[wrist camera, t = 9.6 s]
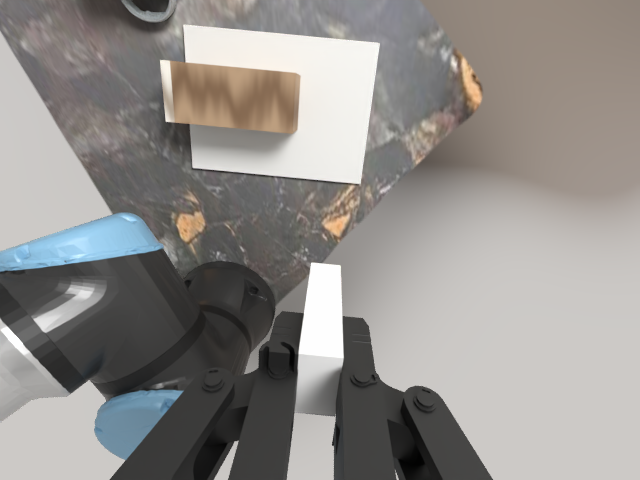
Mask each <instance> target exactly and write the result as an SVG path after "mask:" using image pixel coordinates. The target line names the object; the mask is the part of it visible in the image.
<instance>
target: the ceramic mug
mask: <svg viewBox="0 0 640 480" xmlns="http://www.w3.org/2000/svg"><path fill="white" fill-rule="evenodd" d="M121 1H122V3H123V4H124V5H125V7H126V8H127V9H128V10H129V11H130V12H131V13H132V14H133V15H135V16H136V17H138V18H140V19H141V20H143V21H147V22H154V23H155V22H162V21H165V20H166V19H168V18H169V17H170V16H171V15H172V13H173V12H174V10H175V7H176V2H177V0H169V4H168V7H167V9H166V12H150V11H145V12H143V11H142V10H140V9H139V8H138V7H137V6H136V5H135V4H134V3H133V1H132V0H121Z"/></svg>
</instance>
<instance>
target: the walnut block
mask: <svg viewBox="0 0 640 480" xmlns="http://www.w3.org/2000/svg"><path fill="white" fill-rule="evenodd" d="M160 64H161V75H162V86H163V97H164V108H165V119H166V122H175V123H185V124H196V125H206V126H216V127H227V128H237V129H248V130H258V131H269V132H279V133H289V134H293V133H294V132H295V131H297V130H298V112H299V95H300V78H301V76H300V75H299V74H297V73H292V72H282V71H271V70H261V69H250V68H240V67H229V66H219V65H208V64H198V63H187V62H177V61H166V60H160Z"/></svg>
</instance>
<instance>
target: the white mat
mask: <svg viewBox="0 0 640 480" xmlns="http://www.w3.org/2000/svg"><path fill="white" fill-rule="evenodd" d="M183 28H184V43H185V59H186V62H187V63H198V64H208V65H219V66H229V67H240V68H250V69H261V70H271V71H282V72H292V73H297V74H299V75H300V76H301V78H300V95H299V112H298V130H297V131H295V132H294V133H293V134H289V133H279V132H269V131H258V130H248V129H237V128H227V127H216V126H206V125H196V124H190V135H191V151H192V166H193V168H199V169H209V170H219V171H230V172H240V173H251V174H261V175H272V176H282V177H292V178H303V179H313V180H324V181H334V182H344V183H355V184H360V183H361V175H362V168H363V161H364V154H365V146H366V139H367V132H368V124H369V117H370V110H371V103H372V95H373V88H374V81H375V74H376V66H377V59H378V52H379V44H380V43H373V42H363V41H352V40H342V39H331V38H320V37H310V36H299V35H289V34H278V33H267V32H257V31H246V30H236V29H225V28H214V27H204V26H193V25H183Z"/></svg>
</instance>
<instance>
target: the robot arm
mask: <svg viewBox="0 0 640 480" xmlns="http://www.w3.org/2000/svg"><path fill="white" fill-rule="evenodd" d="M163 248H164V246H163V244H161V243H159V242H158V240H157V239H156V238H155V236H154V235H153V233H152V232H151V231H150V229H149V228H148V226H147V225H146V224H145V222H144V221H143V220H142V219H141V218H140V217H138V216H137V215H135V214H132V213H117V214H113V215H110V216H107V217H103V218H100V219H97V220H94V221H91V222H88V223H85V224H81V225H79V226H75V227H73V228H69V229H66V230H63V231H60V232H57V233H54V234H51V235H48V236H44V237H41V238H38V239H35V240H32V241H30V242H27V243H24V244H21V245H18V246H15V247H12V248H9V249H6V250H3V251H0V422H1V421H3V420H4V419H5V418H7V417H8V416H10V415H11V414H13V413H14V412H15V411H17V410H18V409H20V408H21V407H22V406H24V405H25V404H26V403H28V402H29V401H31V400H34V399H38V398H48V397H67V396H68V395H70V394H71V393H72V392H74V391H75V390H76V389H77V388H79V387H80V386H82V385H83V384H84V383H86V382H87V381H88V380H90V381H91V382H92V383H93V384H94V385H95V386H96V388H97V389H98V390H99V391H100V393H101V394H102V395H103V396H104V397H105V399H106V402H105V403H104V404H103V405H102V406H101V407H100V409H99V410H98V413H97V418H96V419H95V429H94V431H95V435H96V437H97V439H98V440H99V442H100V443H101V444H102V445H103V446H104V447H105V448H106V449H107V450H109V451H110V452H111V453H113V454H114V455H116V456H118V457H120V458H122V459H124V460H126V461H125V462H124V463H123V464H122V466H121V467H120V468H119V469H118V470H117V472H116V473H115V474H114V475H113V476H112V478H111V479H110V480H214V478H215V476H216V474H217V473H218V471H219V469H220V467H221V465H222V464H223V462H224V460H225V458H226V456H227V455H228V453H229V451H230V449H231V447H232V446H233V443H234V441H239V442H238V446H237V450H236V453H235V457H234V460H233V464H232V468H231V471H230V475H229V478H228V480H286V479H287V471H288V463H289V455H290V447H291V438H292V431H293V420H294V412H295V413H306V414H315V415H325V416H335V413H336V422H335V429H334V436H333V442H332V446H334V480H396V475H395V470H396V473H397V475H398V478H399V480H493V479H492V478H491V476H490V474H489V473H488V471H487V469H486V468H485V466H484V465H483V463H482V462H481V460H480V458H479V457H478V455H477V454H476V452H475V450H474V449H473V447H472V446H471V444H470V442H469V441H468V439H467V438H466V436H465V434H464V433H463V431H462V430H461V428H460V426H459V425H458V423H457V422H456V420H455V419H454V417H453V415H452V414H451V412H450V410H449V409H448V407H447V406H446V404H445V402H444V401H443V399H442V398H441V397H440V396H439V395H438V394H437V393H436V392H434V391H433V390H431V389H429V388H426V387H423V386H414V387H410V388H408V389H407V390H406V391H405V392H402V391H399V390H397V389H394V388H392V387H390V386H388V385H386V384H385V383H384V382H382V381H381V380H380V378H379V375H378V374H377V373H376V371H375V366H374V359H373V352H372V345H371V339H370V332H369V326H368V325H367V324H366V322H365V321H364V319H363V318H355V317H345V316H342V296H341V295H342V294H341V266H340V265H331V264H321V263H311V269H310V276H309V283H308V290H307V297H306V304H305V311H304V313H295V312H284V311H282V312H281V313H280V314H279V315H278V316H277V317H276V319H275V322H274V326H273V329H272V333H271V337H270V341H268V342H266V343H265V344H263V345H262V346H261V348H260V350H259V368H258V369H257V370H255V371H253V372H251V373H248V374H244V372H245V369H246V366H247V362H248V359H249V356H250V353H251V352H252V351H253V350H254V349H255V348H256V347H257V346H258V344H259V343H260V342H261V341H262V340H263V339H264V338H265V337H266V335H267V334H268V332H269V330H270V328H271V326H272V323H273V319H274V315H275V300H274V296H273V294H272V291H271V289H270V288H269V286H268V285H267V283H266V282H265V281H264V280H263V279H262V278H261V277H260V276H259V275H258V274H257V273H255V272H254V271H252V270H251V269H249V268H247V267H245V266H242V265H240V264H236V263H232V262H225V261H217V262H210V263H206V264H203V265H200V266H198V267H196V268H195V269H193V270H192V271H191V272H190V273H189V274H188V275H187V276H186V277H185V278H184V280H182V278H181V277H180V275H179V273H178V272H177V270H176V269H175V267H174V265H173V264H172V262H171V261H170V259H169V257H168V256H167V254H166V252H165V251H164V249H163Z"/></svg>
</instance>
